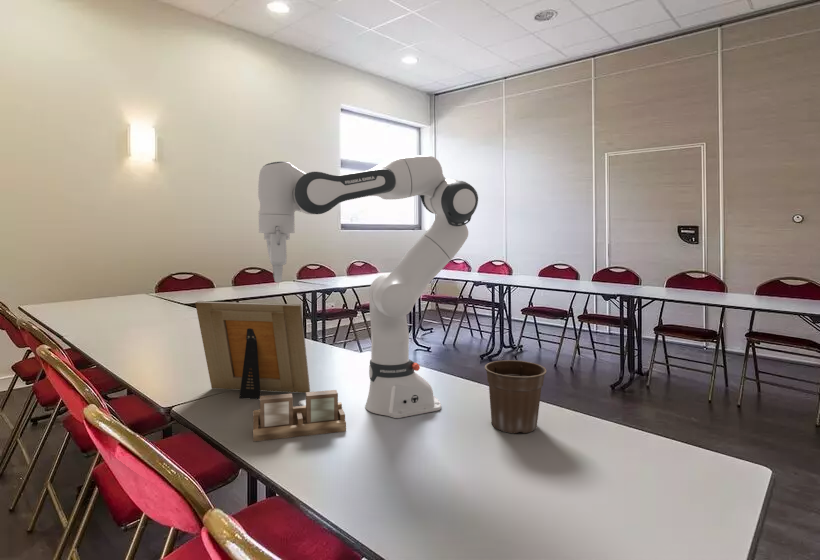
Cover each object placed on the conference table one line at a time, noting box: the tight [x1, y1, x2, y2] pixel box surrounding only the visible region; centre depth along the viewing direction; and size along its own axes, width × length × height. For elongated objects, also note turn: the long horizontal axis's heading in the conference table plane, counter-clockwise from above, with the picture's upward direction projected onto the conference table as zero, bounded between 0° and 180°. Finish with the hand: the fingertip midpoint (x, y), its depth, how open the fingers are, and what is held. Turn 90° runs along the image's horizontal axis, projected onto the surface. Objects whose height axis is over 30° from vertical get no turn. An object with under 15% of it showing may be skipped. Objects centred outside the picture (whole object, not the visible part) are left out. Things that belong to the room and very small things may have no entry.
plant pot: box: [484, 359, 547, 434], centre depth 131 cm, size 16×16×16 cm
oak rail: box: [252, 401, 347, 442], centre depth 126 cm, size 23×8×5 cm, turn 108°
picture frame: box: [194, 300, 311, 400], centre depth 151 cm, size 33×10×30 cm, turn 84°
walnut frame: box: [259, 392, 294, 429], centre depth 124 cm, size 8×3×8 cm, turn 108°
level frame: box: [305, 389, 339, 424], centre depth 127 cm, size 8×3×8 cm, turn 108°
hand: (277, 280), depth 124 cm, fingers open, 8 cm apart
